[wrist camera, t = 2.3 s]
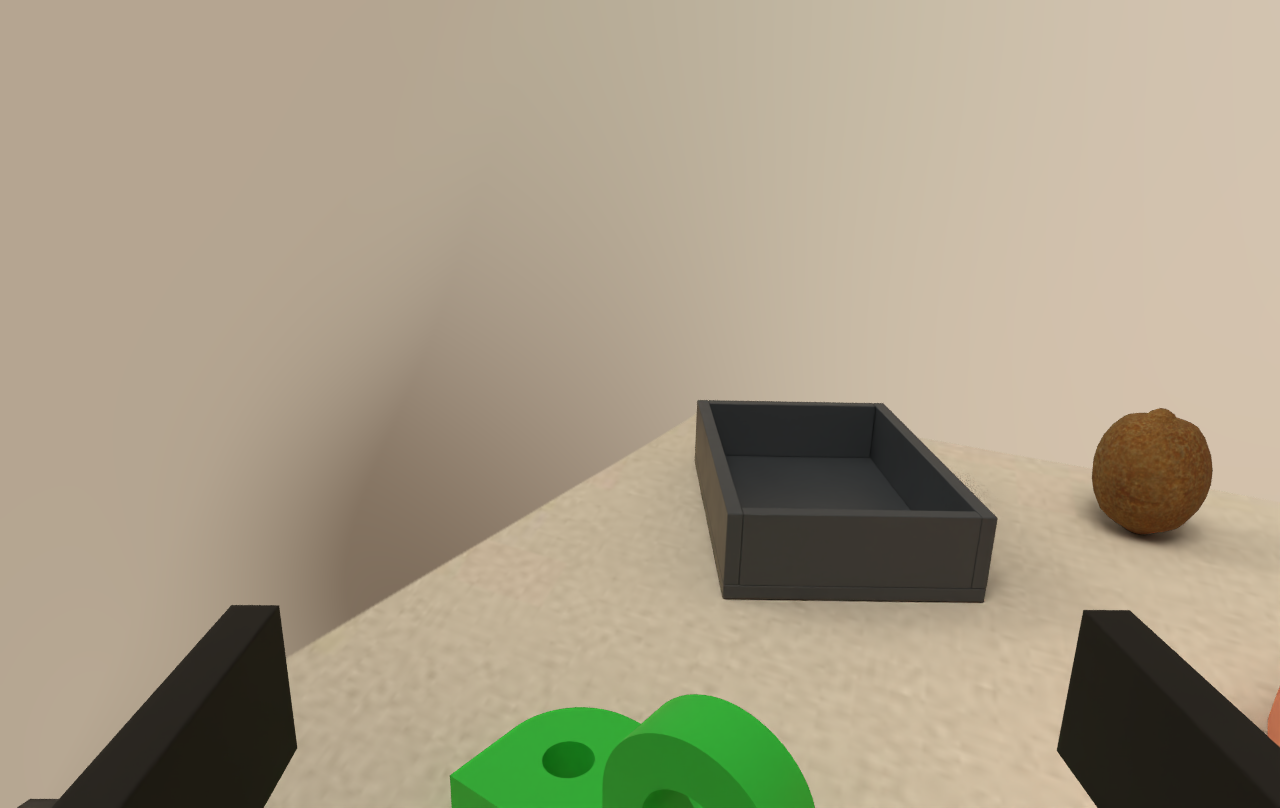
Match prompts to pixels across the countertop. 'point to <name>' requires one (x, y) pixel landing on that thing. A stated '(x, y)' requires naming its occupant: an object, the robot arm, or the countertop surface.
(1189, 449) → the fruit
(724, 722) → the mechanical part
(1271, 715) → the teapot
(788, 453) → the dark grey open tray
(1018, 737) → the countertop surface
